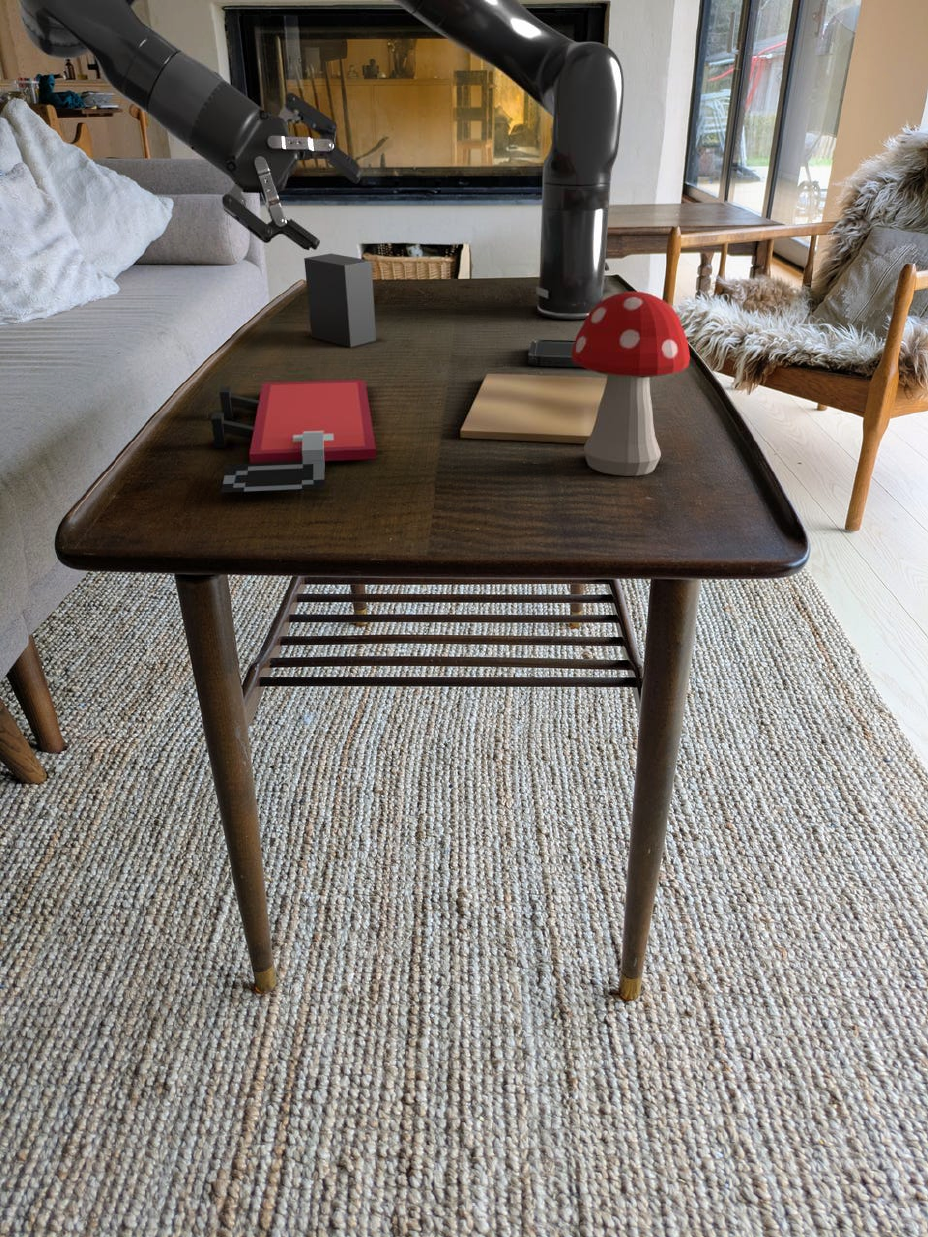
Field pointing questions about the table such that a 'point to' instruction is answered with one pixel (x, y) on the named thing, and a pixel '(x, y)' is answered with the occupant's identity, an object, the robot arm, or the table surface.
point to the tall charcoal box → (341, 299)
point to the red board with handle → (296, 433)
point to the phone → (551, 353)
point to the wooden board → (535, 408)
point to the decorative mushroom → (628, 376)
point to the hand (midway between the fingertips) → (338, 212)
